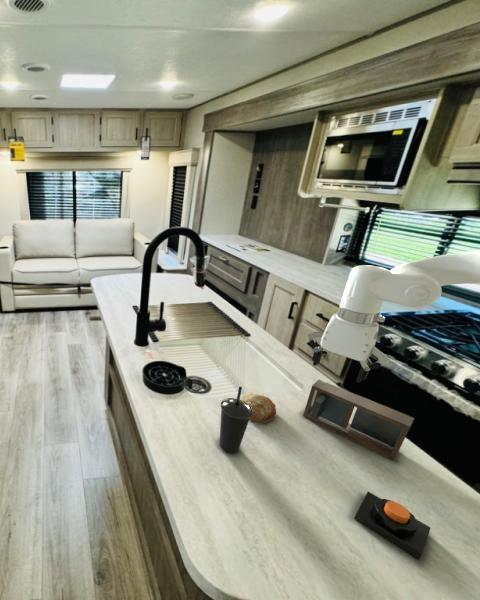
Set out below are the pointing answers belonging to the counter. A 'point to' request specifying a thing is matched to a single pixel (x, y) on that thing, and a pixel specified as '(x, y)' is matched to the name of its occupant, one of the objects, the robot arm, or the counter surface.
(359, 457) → the counter surface
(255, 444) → the counter surface
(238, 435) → the drinking cup
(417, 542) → the control block
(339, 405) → the window sash
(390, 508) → the button
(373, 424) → the window frame
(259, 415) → the bread roll
